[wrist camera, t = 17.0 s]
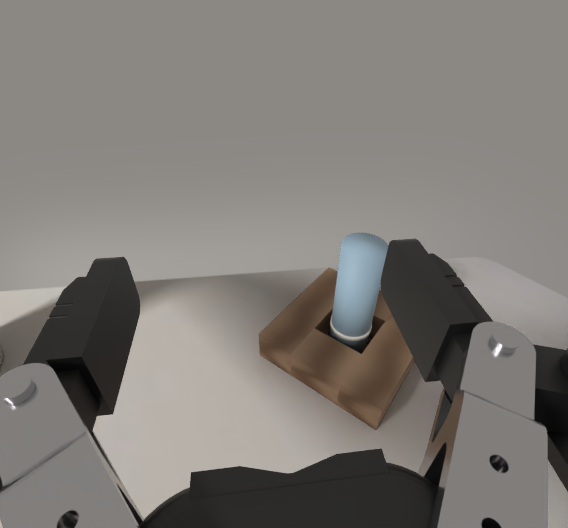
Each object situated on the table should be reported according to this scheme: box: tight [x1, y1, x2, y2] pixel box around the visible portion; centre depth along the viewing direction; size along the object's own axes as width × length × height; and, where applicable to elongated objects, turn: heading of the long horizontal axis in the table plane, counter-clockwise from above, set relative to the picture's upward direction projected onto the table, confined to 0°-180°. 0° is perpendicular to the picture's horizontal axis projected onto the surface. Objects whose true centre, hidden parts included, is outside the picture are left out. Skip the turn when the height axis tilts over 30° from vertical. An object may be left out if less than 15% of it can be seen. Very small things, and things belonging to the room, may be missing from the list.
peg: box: [329, 233, 388, 354], centre depth 42 cm, size 5×5×16 cm
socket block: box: [259, 268, 415, 430], centre depth 45 cm, size 16×16×4 cm
